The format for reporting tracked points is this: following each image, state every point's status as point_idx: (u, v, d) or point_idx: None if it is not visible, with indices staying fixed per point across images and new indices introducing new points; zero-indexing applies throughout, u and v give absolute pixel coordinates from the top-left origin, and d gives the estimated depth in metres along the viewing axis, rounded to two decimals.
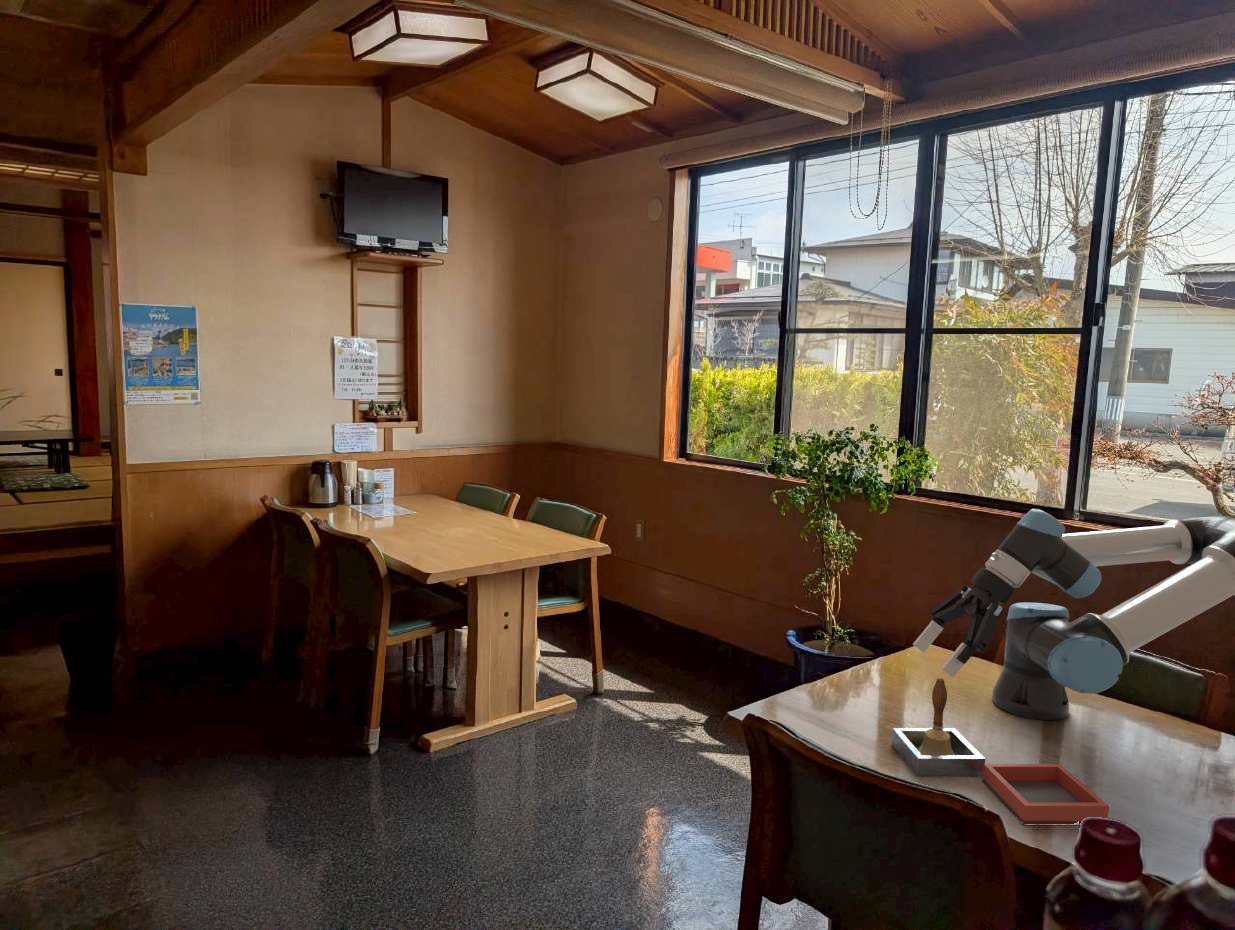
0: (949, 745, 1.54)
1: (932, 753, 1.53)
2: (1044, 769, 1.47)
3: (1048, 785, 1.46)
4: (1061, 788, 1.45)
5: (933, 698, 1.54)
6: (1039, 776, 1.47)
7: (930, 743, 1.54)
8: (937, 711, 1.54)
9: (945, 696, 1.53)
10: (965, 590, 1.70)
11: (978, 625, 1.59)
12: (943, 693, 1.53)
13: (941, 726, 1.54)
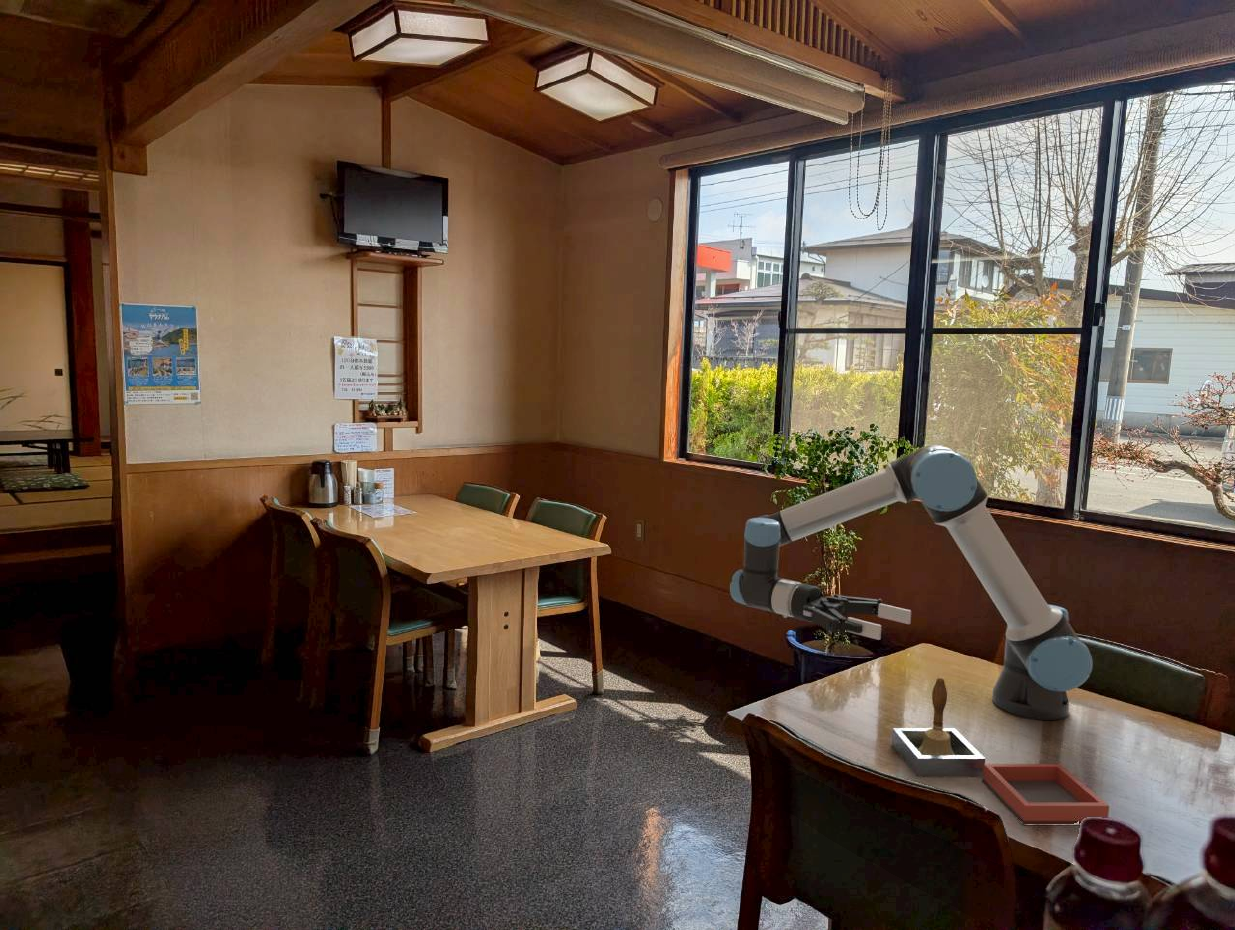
0: (949, 745, 1.54)
1: (932, 753, 1.53)
2: (1044, 769, 1.47)
3: (1048, 785, 1.46)
4: (1061, 788, 1.45)
5: (933, 698, 1.54)
6: (1039, 776, 1.47)
7: (930, 743, 1.54)
8: (937, 711, 1.54)
9: (945, 696, 1.53)
10: None
11: None
12: (943, 693, 1.53)
13: (941, 726, 1.54)
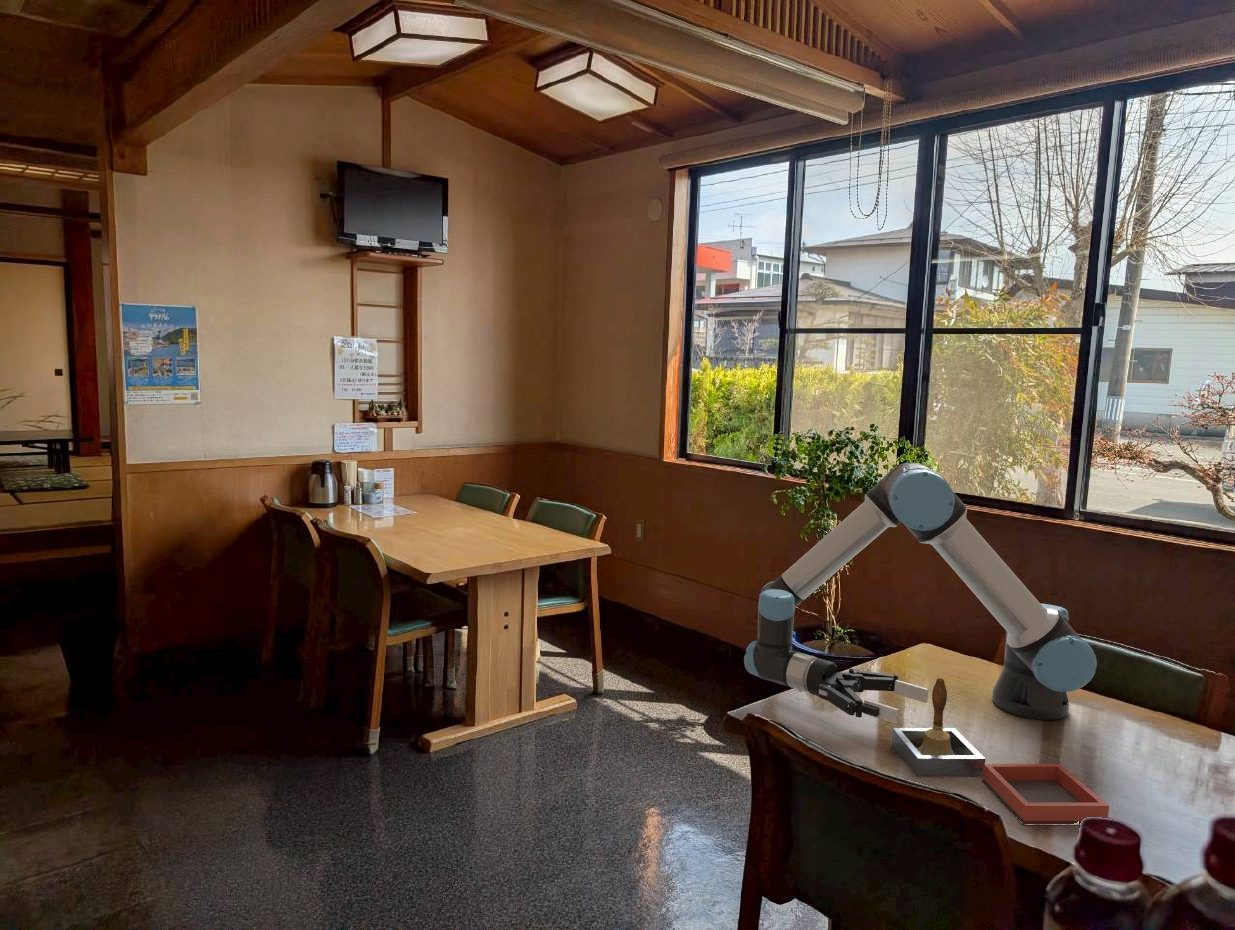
0: (949, 745, 1.54)
1: (932, 753, 1.53)
2: (1044, 769, 1.47)
3: (1048, 785, 1.46)
4: (1061, 788, 1.45)
5: (933, 698, 1.54)
6: (1039, 776, 1.47)
7: (930, 743, 1.54)
8: (937, 711, 1.54)
9: (945, 696, 1.53)
10: None
11: None
12: (943, 693, 1.53)
13: (941, 726, 1.54)
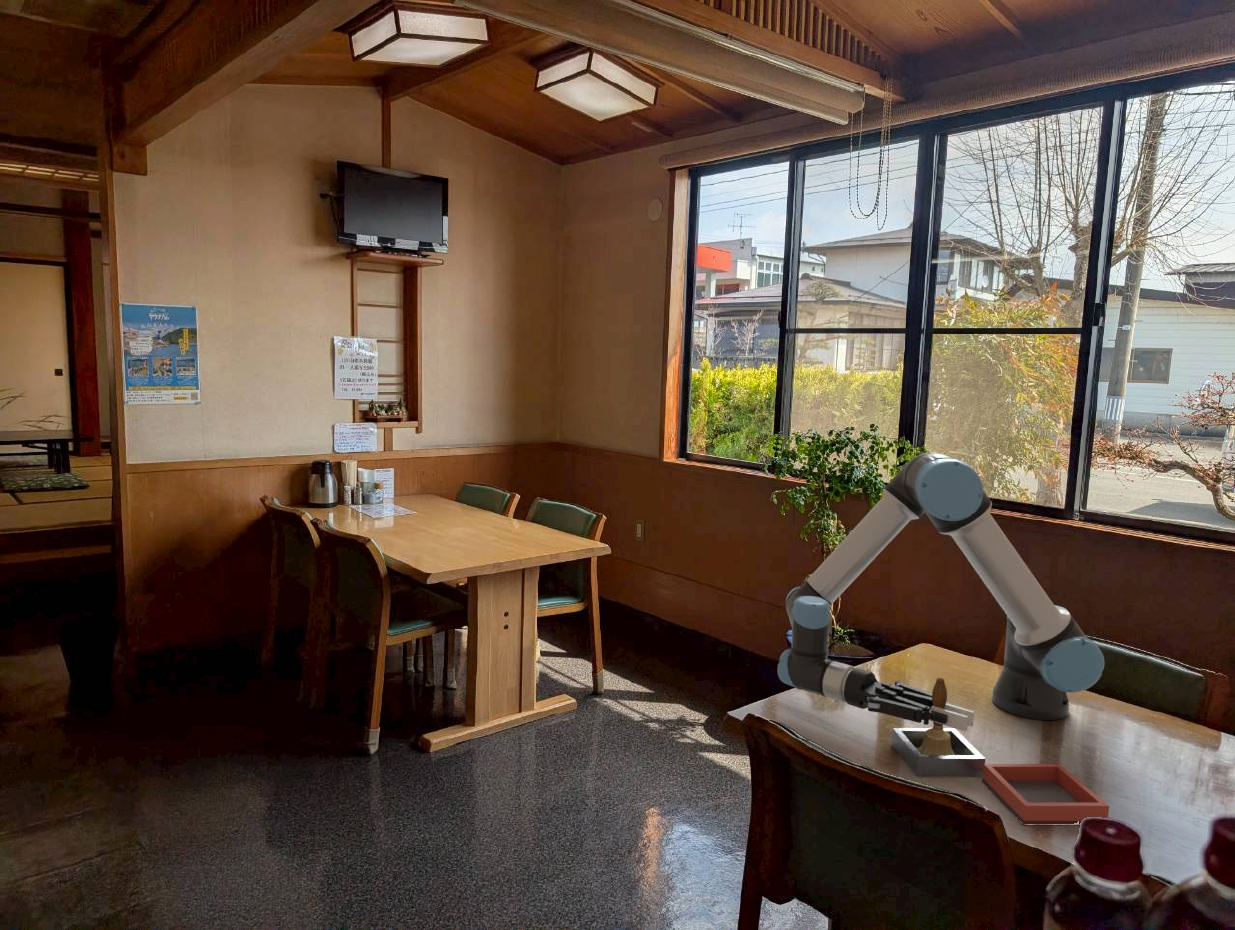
0: (949, 745, 1.54)
1: (932, 753, 1.53)
2: (1044, 769, 1.47)
3: (1048, 785, 1.46)
4: (1061, 788, 1.45)
5: (933, 698, 1.54)
6: (1039, 776, 1.47)
7: (930, 743, 1.54)
8: None
9: (945, 696, 1.53)
10: None
11: None
12: (943, 693, 1.53)
13: (941, 726, 1.54)
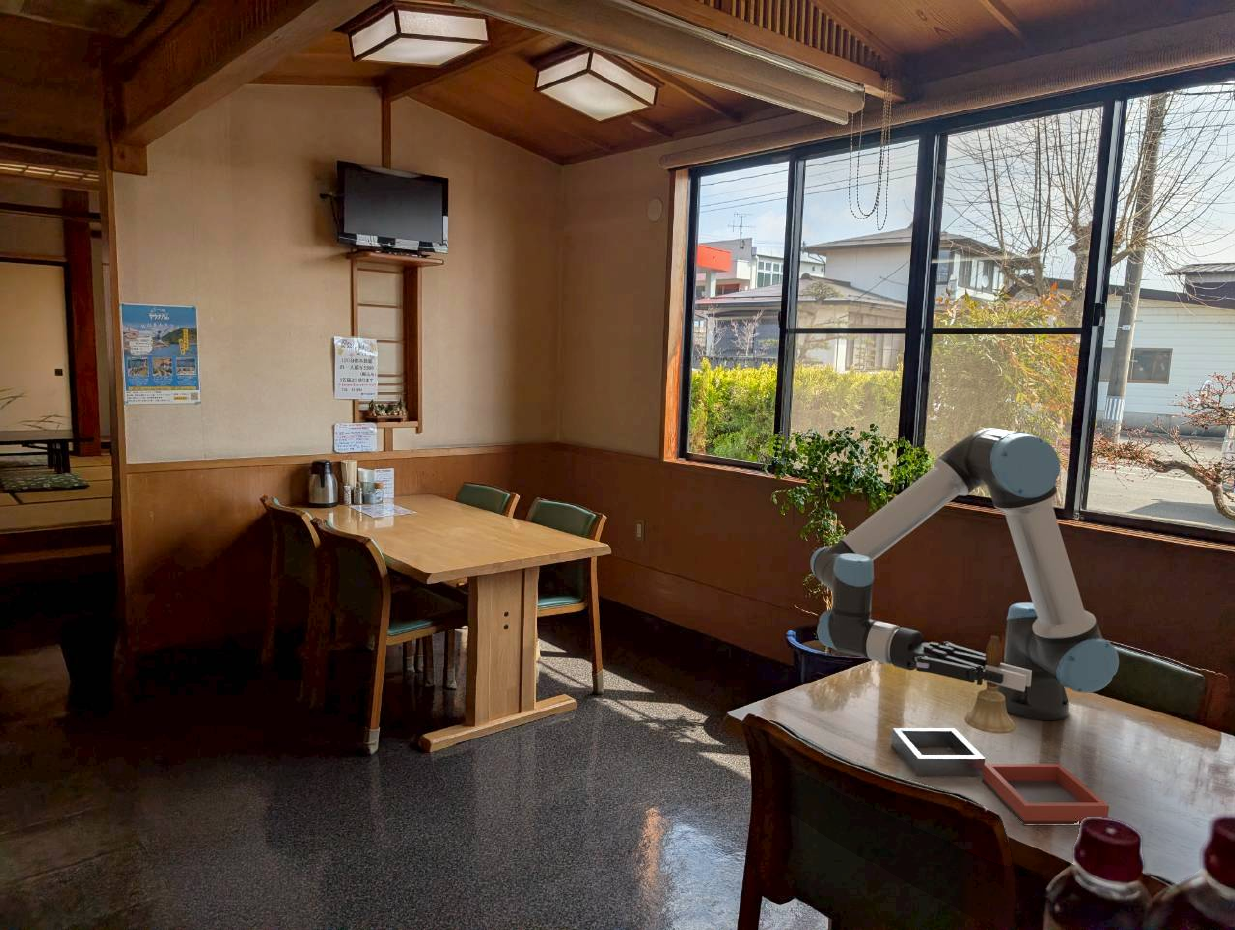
0: (1004, 706, 1.44)
1: (986, 715, 1.44)
2: (1044, 769, 1.47)
3: (1048, 785, 1.46)
4: (1061, 788, 1.45)
5: (987, 656, 1.44)
6: (1039, 776, 1.47)
7: (984, 704, 1.44)
8: None
9: (1000, 654, 1.43)
10: None
11: None
12: (998, 651, 1.43)
13: (996, 686, 1.44)
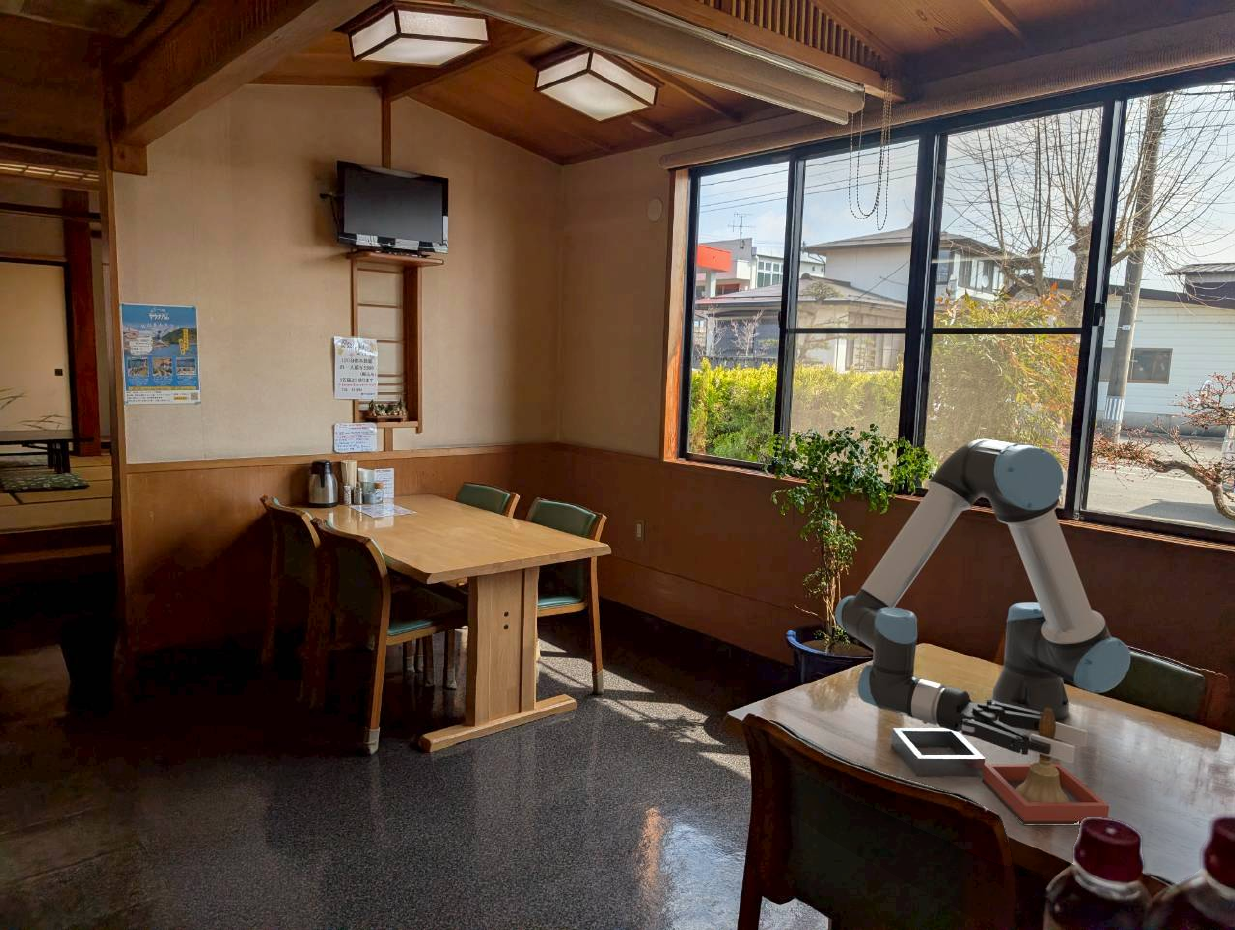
0: (1058, 781, 1.39)
1: (1040, 790, 1.39)
2: None
3: None
4: (1061, 788, 1.45)
5: (1040, 729, 1.40)
6: None
7: (1037, 779, 1.39)
8: None
9: (1054, 727, 1.39)
10: None
11: None
12: (1053, 725, 1.39)
13: (1049, 760, 1.40)
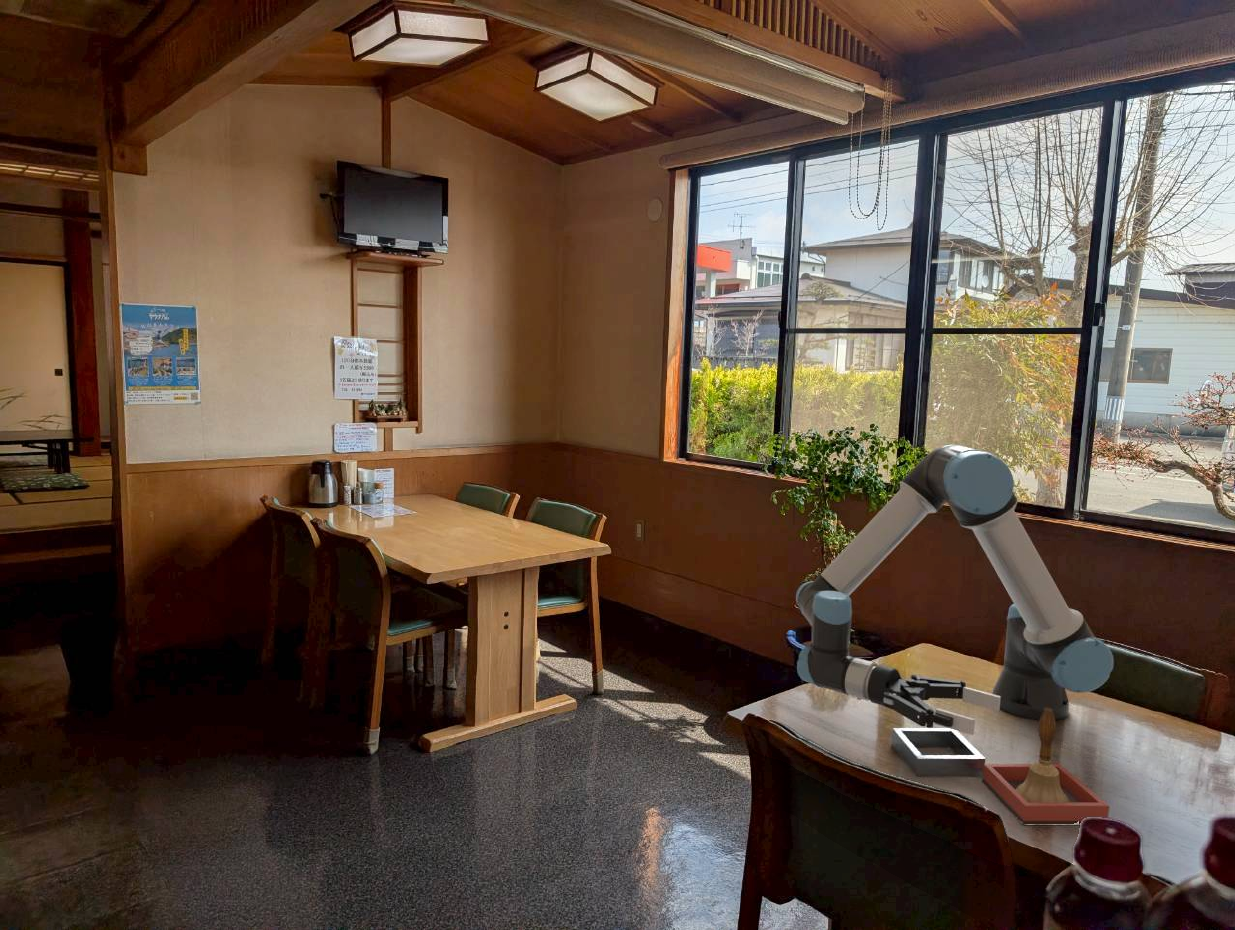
0: (1058, 781, 1.39)
1: (1040, 790, 1.39)
2: None
3: None
4: (1061, 788, 1.45)
5: (1040, 729, 1.40)
6: None
7: (1037, 779, 1.39)
8: (1045, 744, 1.40)
9: (1054, 727, 1.39)
10: None
11: None
12: (1053, 725, 1.39)
13: (1049, 760, 1.40)
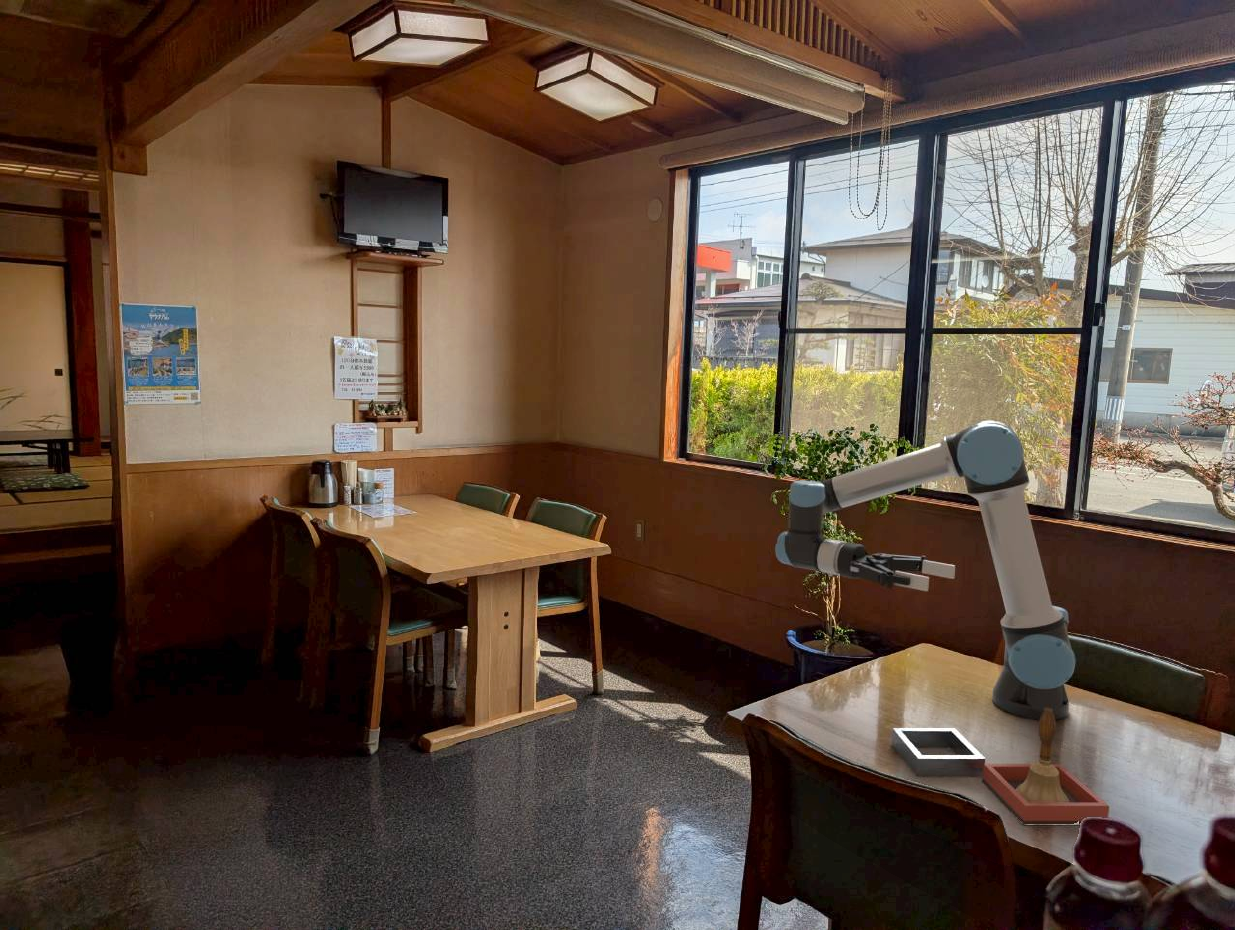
0: (1058, 781, 1.39)
1: (1040, 790, 1.39)
2: None
3: None
4: (1061, 788, 1.45)
5: (1040, 729, 1.40)
6: None
7: (1037, 779, 1.39)
8: (1045, 744, 1.40)
9: (1054, 727, 1.39)
10: None
11: None
12: (1053, 725, 1.39)
13: (1049, 760, 1.40)
